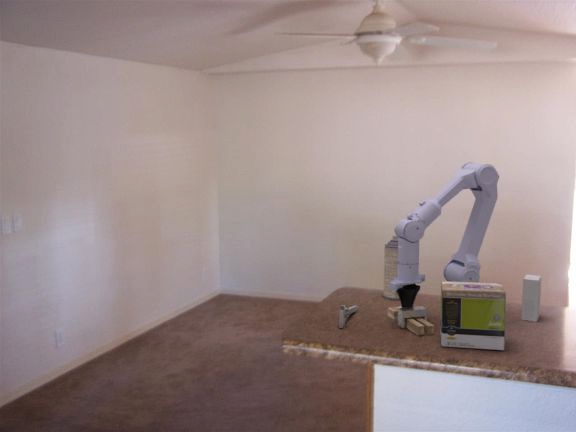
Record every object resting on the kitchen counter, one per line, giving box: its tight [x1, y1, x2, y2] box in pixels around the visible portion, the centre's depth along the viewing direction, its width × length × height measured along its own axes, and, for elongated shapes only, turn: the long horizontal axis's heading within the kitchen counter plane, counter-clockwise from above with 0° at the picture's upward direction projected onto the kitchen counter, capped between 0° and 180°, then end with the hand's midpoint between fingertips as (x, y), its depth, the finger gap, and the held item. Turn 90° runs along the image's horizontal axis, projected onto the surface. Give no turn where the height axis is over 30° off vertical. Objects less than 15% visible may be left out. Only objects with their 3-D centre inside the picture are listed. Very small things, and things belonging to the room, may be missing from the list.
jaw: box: [395, 311, 425, 336], centre depth 163 cm, size 2×14×2 cm, turn 15°
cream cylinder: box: [382, 234, 400, 301], centre depth 191 cm, size 7×7×20 cm
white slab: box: [397, 305, 428, 329], centre depth 164 cm, size 7×3×5 cm, turn 107°
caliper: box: [338, 304, 359, 329], centre depth 171 cm, size 20×1×6 cm, turn 161°
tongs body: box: [387, 305, 435, 336], centre depth 165 cm, size 4×18×2 cm, turn 17°
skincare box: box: [520, 274, 542, 323], centre depth 170 cm, size 6×4×12 cm
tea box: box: [439, 280, 507, 351], centre depth 150 cm, size 15×10×15 cm, turn 77°
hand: (406, 310), depth 166 cm, fingers closed
